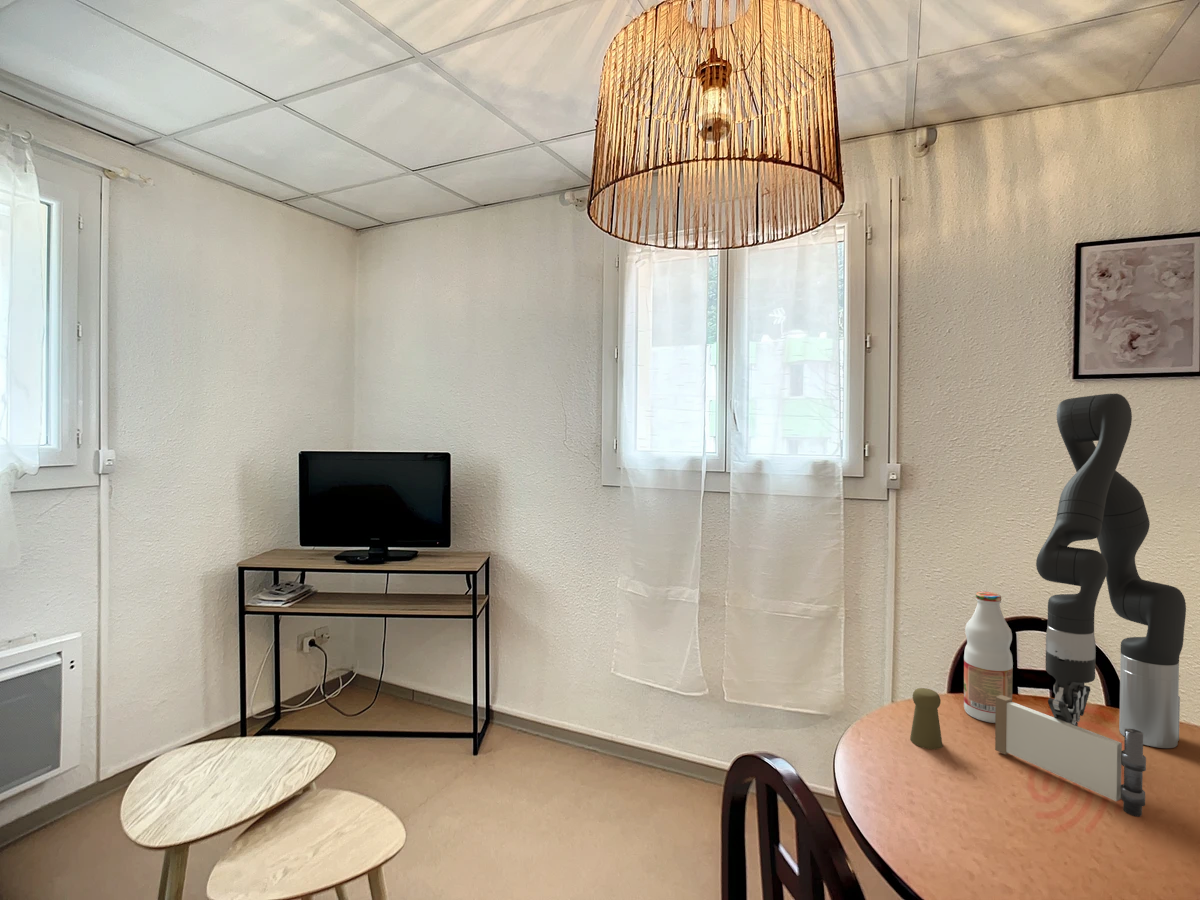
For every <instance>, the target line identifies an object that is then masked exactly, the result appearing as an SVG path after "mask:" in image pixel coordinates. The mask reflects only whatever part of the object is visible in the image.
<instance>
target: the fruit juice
mask: <svg viewBox="0 0 1200 900" xmlns="http://www.w3.org/2000/svg"><path fill="white" fill-rule="evenodd" d="M975 600H976V601H977V603H976V607H975V609H974V612H973V614H972V616H971V617H970V619H969V620H967V622H966V624H965V627H964V628H965V629H964V633H965V636H966V637H965V638H966V645H965V647H964V654H963V708H964V711H965V713H967V714H968V716H970V717H972V718H974V719H977V720H978V721H982V722H986V723H993V724H995V715H996V697H997V696H1000V695H1003V696H1006V697H1009V698H1011V699H1012V700H1013V668H1014V667H1013V665H1014V662H1013V654H1012V651H1011V650H1010V647H1011V644H1012V641H1013V633H1012V628H1010V627H1009V624H1008V623H1007V621H1006V619H1005V617H1004V615H1003V611H1002V608H1001V603H1002V596H1001V594H999V593H995V592H991V591H978V592H976V594H975Z"/></svg>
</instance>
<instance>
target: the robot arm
mask: <svg viewBox="0 0 1200 900" xmlns="http://www.w3.org/2000/svg"><path fill="white" fill-rule="evenodd" d="M1056 421H1057V422H1056V423H1057V427H1058V430H1059V433H1060V436H1061V438H1062V442H1063V443H1064V446H1065V449H1066V450H1067V453H1068V455H1069V458H1070V459H1071V463H1072V464H1073V466H1074V468H1075V471H1076V472H1075V474H1074V475H1072V477H1071V478H1070V479H1069V480H1068V481H1067V483H1066V484H1065V486H1064V487H1063V489H1062V491H1061V493H1060V496H1059V500H1058V505H1057V506H1058V507H1057V511H1056V517H1055V521H1054V524H1053V527H1052V529H1051V531H1050V532H1049V533H1050V534H1049V535H1048V537H1047V539H1046V540H1045V541H1044V544H1043V545H1042V547H1041V548H1040V550H1039V552H1038V554H1037V556H1036V559H1035V560H1036V562H1035V565H1036V566H1035V567H1036V570H1037V572H1038V574H1039V576H1040V577H1041V578H1042V579H1043V580H1045V581H1048V582H1053V583H1058V584H1065V585H1071V586H1076V587H1078V586H1079V587H1080V590H1079V592H1077V593H1071V594H1070V593H1063V594H1054V595H1051V596H1050V597H1049V598H1048V601H1047V625H1046V626H1047V627H1046V628H1047V629H1046V633H1045V671H1046V672H1047V674H1048V675H1050V676H1052V677H1053V678H1054V679H1055V682H1054V684H1053V693H1054V698H1051V697H1049V698H1048V700H1047V704H1048V706H1049V709H1050V711H1051V713H1052V716H1053V717H1054V718H1057V719H1059V720H1062V721H1065V722H1067V723H1070V724H1073V725H1075V726H1078V725H1079V722H1080V720H1081V717H1083V716H1084V714H1085V710H1086V707H1087V706H1086V705H1087V703H1088V700H1089V695H1090V693H1091V687H1090V686H1088V685H1087V683H1092V682H1094V681H1095V679H1096V655H1097V654H1096V652H1097V651H1096V650H1097V649H1096V648H1097V647H1096V645H1097V644H1096V638H1095V610H1096V604H1097V600H1098V597H1099V593H1100V591H1101V589H1102V586H1103V584H1104V582H1105V579H1106V585H1107V590H1108V596H1109V599H1110V603H1111V606H1112V609H1113V610H1114V613H1115V614H1116V615H1118V616H1119V617H1120V618H1122V619H1125V620H1127V621H1130V622H1133V623H1137V624H1140V625H1145V626H1147V629H1146V630H1147V631H1146V635H1145V636H1132V637H1131V636H1130V637H1125V638H1122V640H1121V642H1120V658H1119V661H1120V662H1119V663H1120V664H1119V665H1120V669H1119V670H1120V671H1119V672H1120V673H1119V675H1120V676H1119V677H1120V678H1119V679H1120V680H1119V717H1118V718H1119V720H1118V721H1119V725H1118V726H1119V727H1118V728H1119V733H1120V734H1121V735H1122V736H1123V737H1125V729H1135V730H1138V731H1140V732H1142V733H1143V746H1144V745H1145V746H1148V747H1149V746H1150V747H1152V748H1159V749H1173V748H1176V747H1177V746H1178V741H1180V714H1181V713H1180V711H1181V709H1180V707H1181V705H1180V704H1181V702H1180V701H1181V698H1180V695H1179V693H1180V691H1179V685H1180V684H1179V682H1180V681H1179V680H1180V677H1179V676H1180V656H1181V652H1182V650H1183V646H1184V636H1185V624H1186V616H1187V615H1186V613H1187V604H1186V599H1185V596H1184V593H1183V592H1181V591H1182V590H1180V589H1179V588H1178V587H1175V586H1172V585H1169V584H1165V583H1160V582H1154V581H1151V580H1146V579H1142V578H1141V576H1140V575H1139V573H1138V569H1137V565H1136V555H1137V553H1138V551H1139V550H1140V547H1141V546H1142V544H1143V543H1144V541H1145V539H1146V537H1147V535H1148V533H1149V530H1150V518H1149V515H1148V511H1147V508H1146V504H1145V500H1144V498H1143V495H1142V494H1141V492H1140V491H1139V489H1137V487H1136V486H1135V485H1134V484H1133V483H1132V482H1130V481H1129V480H1128V479H1127V478H1126V477H1125V476H1123V475H1122V474H1121V473H1120V472H1119V471H1117V468H1118V465H1119V463H1120V459H1121V458H1122V454H1123V451H1124V450H1125V449H1124V448H1125V446H1126V442H1127V440H1128V437H1129V435H1130V430H1131V427H1132V421H1133V414H1132V408H1131V405H1130V403H1129V401H1128V399H1127V398H1126V397H1125V396H1124V395H1122V394H1120V393H1102V394H1095V395H1089V396H1088V395H1086V396H1078V397H1072V398H1071V397H1070V398H1066V399H1064V400H1062V401H1061V402H1060V403H1059V404H1058V406H1057V408H1056ZM1095 442H1097V445H1096V444H1095ZM1094 539H1097V544H1098V547H1099V550H1100V551H1098V550H1095V549H1089V548H1083V547H1082V548H1081V547H1074V546H1073V547H1072V546H1069V545H1070V544H1072V543H1074V542H1075V543H1076V542H1079V541H1090V540H1091V541H1092V540H1094ZM1085 684H1086V685H1085ZM1078 727H1079V726H1078Z"/></svg>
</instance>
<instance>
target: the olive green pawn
mask: <svg viewBox="0 0 1200 900" xmlns="http://www.w3.org/2000/svg"><path fill="white" fill-rule="evenodd" d="M912 700H913V703H914V711H913V712H914V713H913V718H912V725H911V732H910V739H909V740H910V742H911V743H912V744H913V745H915V746H916V747H917V746H918V747H919V748H922V749H927V750H940V749H942V747H943V739H942V733H941V732H942V731H941V726H940V725H941V724H940V719H939V718H940V717H939V716H940V715H939V712H938V711H939V710H938V709H939V707H941V706H940V705H941V697H940V694H938V692H936V691H935V690H933V689H930V688H928V687H927V688H926V687H919V688H916V689H914V691H913V692H912Z"/></svg>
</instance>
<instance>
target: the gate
mask: <svg viewBox="0 0 1200 900" xmlns="http://www.w3.org/2000/svg"><path fill="white" fill-rule="evenodd" d="M994 724H995V731H994V732H995V733H994V734H995V735H994V736H995V737H994V744H995V745H994V750H995V751H996V752H999V753H1001V754H1002V755H1008V754H1010V755H1012V756H1014V757H1015V758H1016V757H1017V758H1018V759H1021V760H1022V761H1026V762H1027V763H1030V764H1031V765H1035V766H1037V767H1038V768H1041V769H1043V770H1045V771H1047V772H1050V773H1052V774H1055V775H1057V776H1058V777H1061V778H1064V779H1065V780H1068V781H1069V782H1071V783H1072V782H1073V783H1074V784H1077V785H1079V786H1081V787H1083V788H1086V789H1088V790H1089V791H1092V792H1094V793H1097V794H1099V795H1101V796H1104V797H1106V798H1108V799H1109V800H1112V801H1114V802H1118V801H1120V800H1122V799H1121V785H1122V764H1121V751H1123V749H1122V748H1123V746H1122V745H1123V743H1122V742H1120V741H1119V740H1115V739H1112V738H1110V737H1107V736H1104V735H1102V734H1099V733H1097V732H1094V731H1091V730H1088V729H1086V728H1084V727H1080V726H1075V725H1073V724H1070V723H1067V722H1065V721H1062V720H1059V719H1057V718H1054V716H1052V715H1051V716H1050V715H1048V714H1045V713H1044V712H1041V711H1038V710H1035V709H1033V708H1030V707H1027V706H1025V705H1022V704H1019V703H1017V702H1014V701H1013V698H1012V699H1011V698H1009V697H1006V696H1003V695H1000V696H997V697H996V715H995V723H994Z"/></svg>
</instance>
